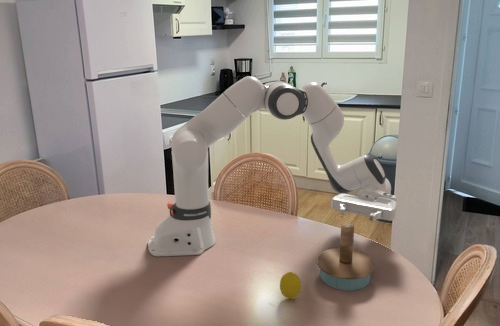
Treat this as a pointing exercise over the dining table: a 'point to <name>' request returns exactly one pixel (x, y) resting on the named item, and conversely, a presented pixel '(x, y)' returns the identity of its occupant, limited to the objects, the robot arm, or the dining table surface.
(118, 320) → the dining table surface
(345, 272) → the lid
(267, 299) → the dining table surface
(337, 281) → the bowl
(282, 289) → the lemon
